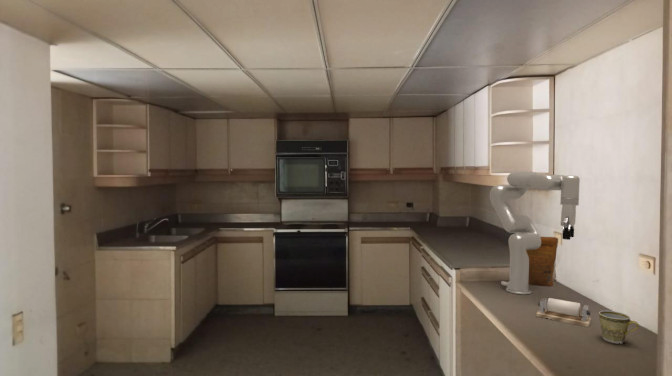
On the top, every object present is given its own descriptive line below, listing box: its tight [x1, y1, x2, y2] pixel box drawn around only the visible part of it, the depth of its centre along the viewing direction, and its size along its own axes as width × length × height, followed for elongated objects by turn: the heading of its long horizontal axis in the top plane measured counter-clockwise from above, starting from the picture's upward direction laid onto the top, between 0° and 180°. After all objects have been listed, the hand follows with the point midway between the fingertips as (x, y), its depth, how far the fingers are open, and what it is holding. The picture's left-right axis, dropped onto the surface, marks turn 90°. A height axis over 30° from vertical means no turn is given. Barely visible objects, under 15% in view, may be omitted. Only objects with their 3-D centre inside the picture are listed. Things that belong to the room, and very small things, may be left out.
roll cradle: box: [535, 297, 592, 328], centre depth 187 cm, size 20×9×7 cm, turn 53°
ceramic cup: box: [598, 310, 640, 345], centre depth 162 cm, size 13×10×10 cm
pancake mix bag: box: [526, 236, 559, 287], centre depth 244 cm, size 7×19×28 cm, turn 72°
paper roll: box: [546, 297, 581, 317], centre depth 187 cm, size 12×6×6 cm, turn 53°
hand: (568, 238), depth 201 cm, fingers open, 9 cm apart
